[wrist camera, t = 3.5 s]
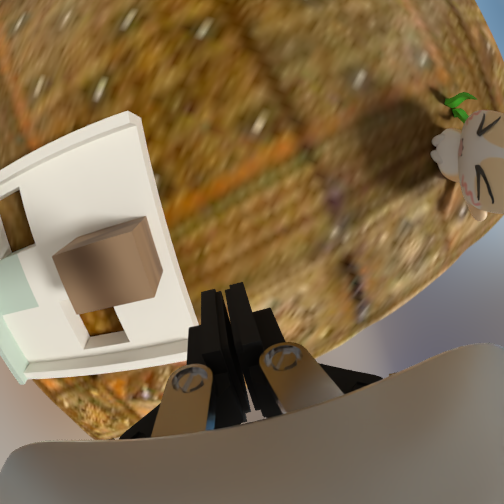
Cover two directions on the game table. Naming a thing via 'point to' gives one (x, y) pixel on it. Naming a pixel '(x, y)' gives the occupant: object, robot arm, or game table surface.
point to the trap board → (66, 230)
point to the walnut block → (110, 266)
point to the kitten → (474, 157)
